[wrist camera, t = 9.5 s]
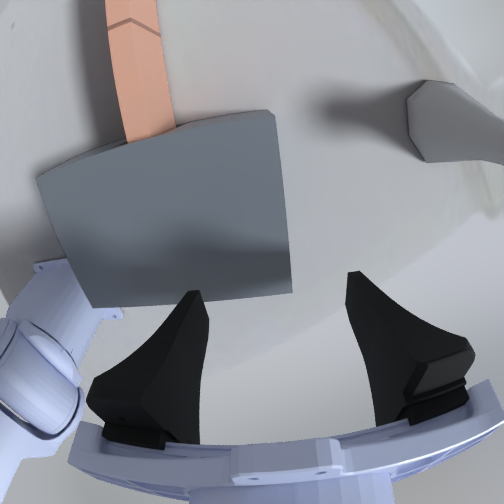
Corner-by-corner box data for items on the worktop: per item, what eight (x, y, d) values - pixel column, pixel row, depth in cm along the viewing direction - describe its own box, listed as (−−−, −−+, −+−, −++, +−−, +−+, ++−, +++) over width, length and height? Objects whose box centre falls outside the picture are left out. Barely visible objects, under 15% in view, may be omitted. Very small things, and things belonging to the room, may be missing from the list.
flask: (391, 91, 16) (483, 104, 7) (455, 71, 14) (546, 83, 6) (419, 175, 19) (498, 233, 11) (476, 148, 17) (556, 190, 9)
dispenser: (124, 257, 23) (92, 308, 18) (88, 150, 18) (35, 178, 12) (282, 237, 22) (292, 292, 17) (267, 109, 17) (274, 115, 11)
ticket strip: (162, 156, 19) (136, 177, 14) (133, -30, 10) (103, -53, 6) (181, 152, 18) (159, 171, 14) (151, -36, 10) (125, -63, 6)
